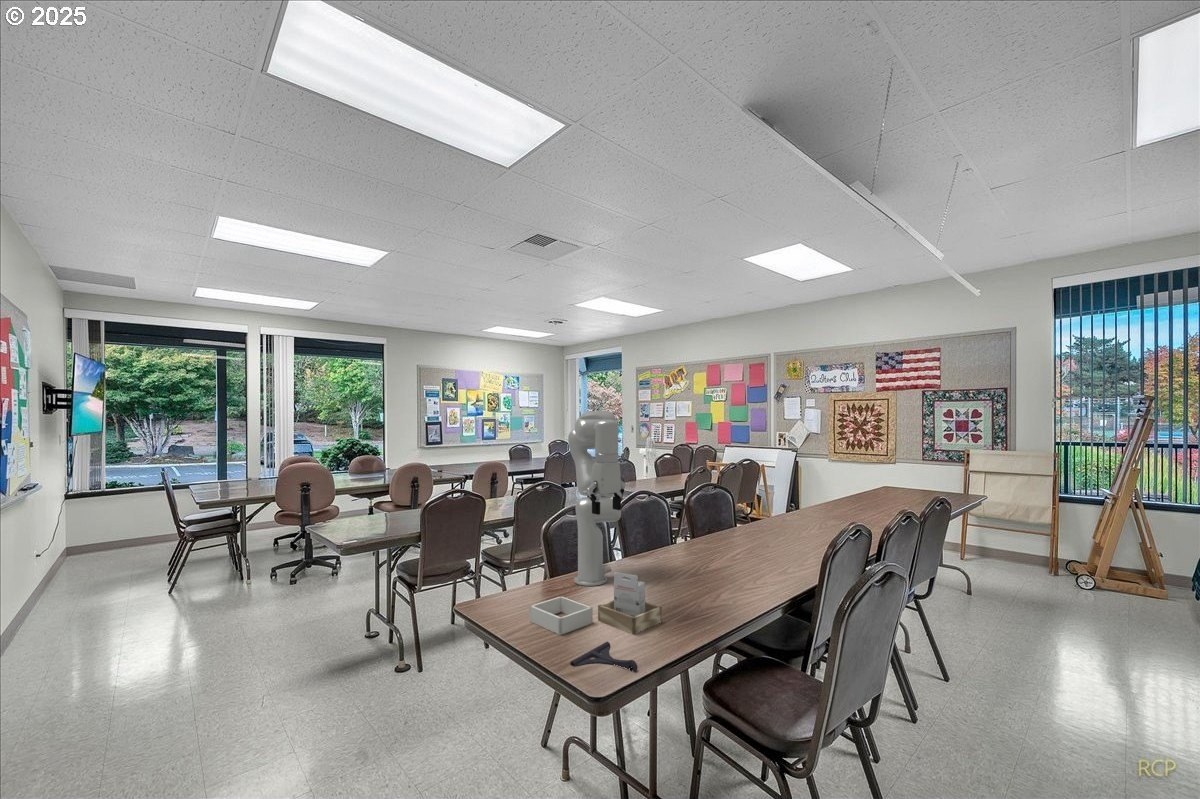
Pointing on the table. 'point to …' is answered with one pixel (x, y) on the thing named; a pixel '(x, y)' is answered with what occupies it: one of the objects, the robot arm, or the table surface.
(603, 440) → the robot arm
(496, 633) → the table surface
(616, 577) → the ink box
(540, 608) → the frame
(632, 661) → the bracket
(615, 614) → the frame
